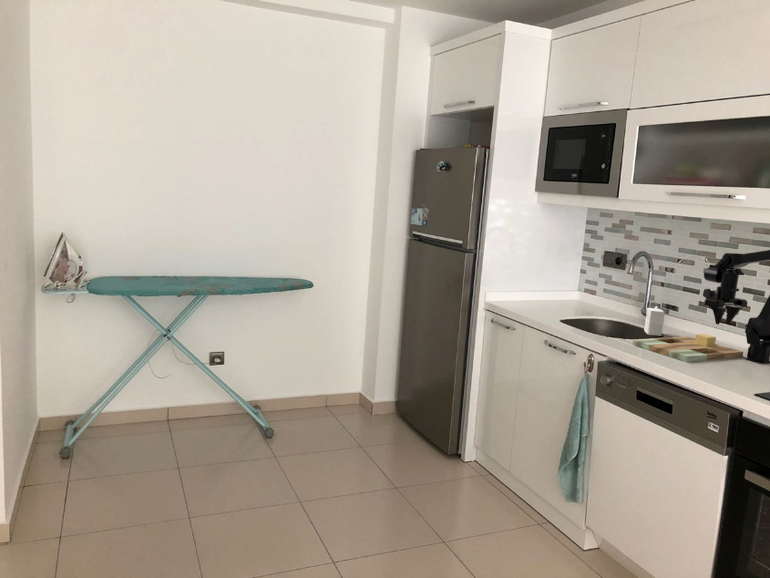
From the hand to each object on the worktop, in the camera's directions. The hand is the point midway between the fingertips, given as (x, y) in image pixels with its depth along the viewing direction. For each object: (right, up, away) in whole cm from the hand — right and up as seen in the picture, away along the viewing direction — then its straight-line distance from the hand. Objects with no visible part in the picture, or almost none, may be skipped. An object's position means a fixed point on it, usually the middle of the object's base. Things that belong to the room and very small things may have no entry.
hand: (722, 323), depth 248 cm
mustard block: (-9, -8, -3) cm, 12 cm away
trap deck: (-18, -10, -7) cm, 21 cm away
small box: (-19, -6, +21) cm, 29 cm away
